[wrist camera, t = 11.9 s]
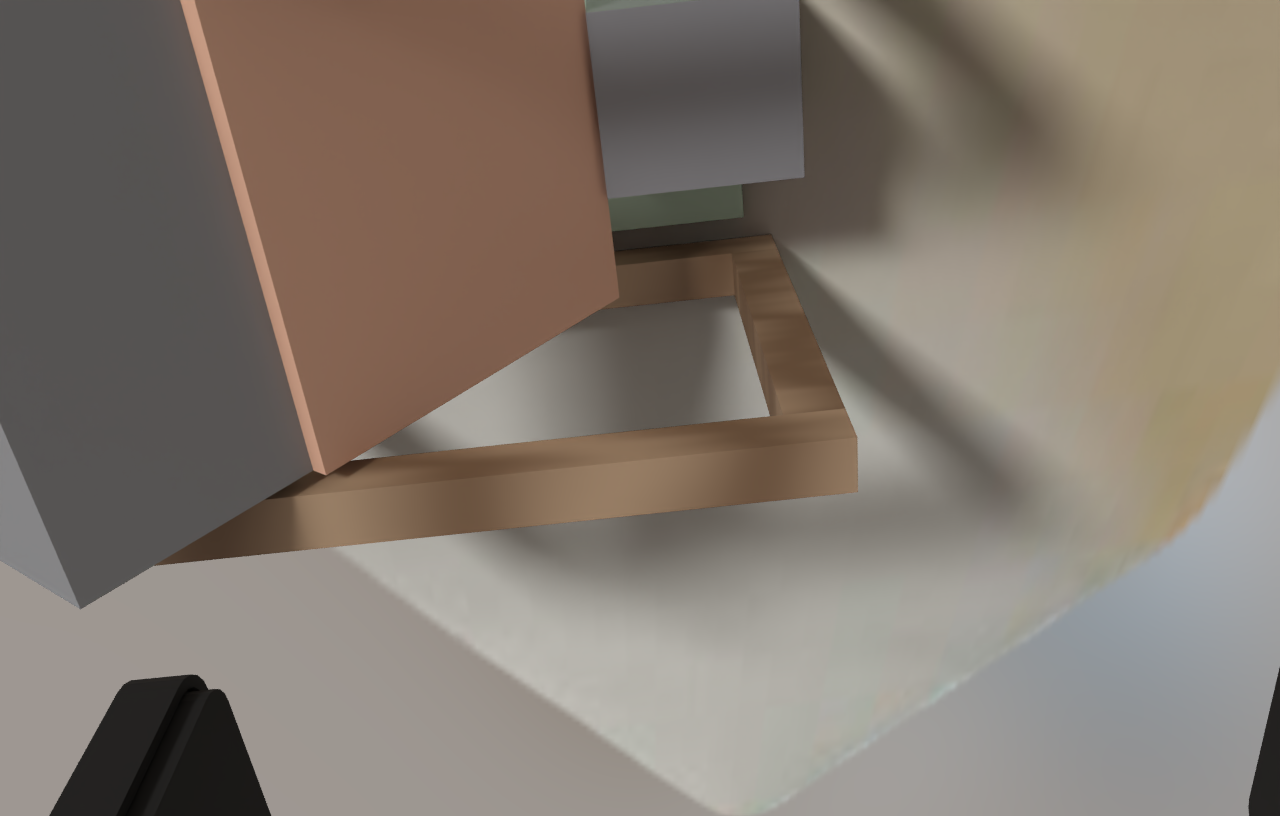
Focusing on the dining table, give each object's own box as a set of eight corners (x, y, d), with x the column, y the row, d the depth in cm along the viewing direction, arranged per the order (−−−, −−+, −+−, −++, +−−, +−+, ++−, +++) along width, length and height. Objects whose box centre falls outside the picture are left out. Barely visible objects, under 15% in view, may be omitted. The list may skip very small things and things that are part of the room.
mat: (722, -122, 35) (724, -122, 34) (742, 213, 40) (743, 217, 39) (376, -83, 35) (374, -82, 34) (440, 246, 40) (439, 250, 40)
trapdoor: (-9, 555, 25) (93, 616, 23) (-261, 13, 20) (-163, 16, 17) (516, 277, 38) (619, 297, 35) (453, -106, 32) (571, -114, 30)
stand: (215, 335, 41) (36, 578, 28) (68, -138, 34) (-272, -111, 21) (772, 275, 41) (857, 491, 28) (750, -217, 33) (852, -241, 20)
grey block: (586, -13, 36) (771, -34, 36) (605, 151, 38) (778, 132, 38) (585, 13, 31) (798, -11, 31) (607, 198, 33) (804, 177, 33)
